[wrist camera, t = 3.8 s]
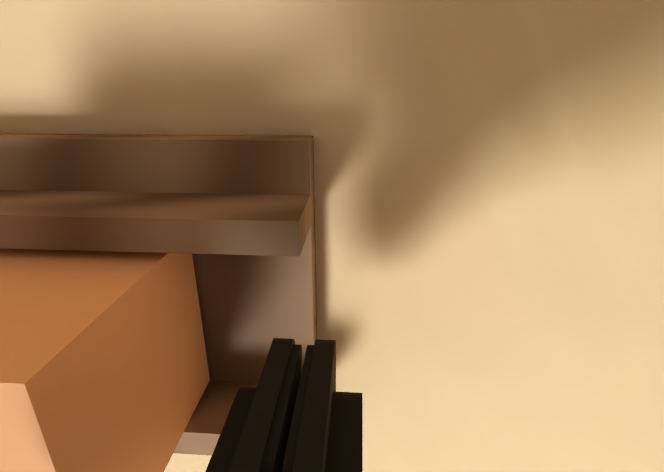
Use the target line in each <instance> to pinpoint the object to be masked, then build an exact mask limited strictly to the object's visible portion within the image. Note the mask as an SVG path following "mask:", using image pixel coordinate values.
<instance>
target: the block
mask: <svg viewBox="0 0 664 472" xmlns="http://www.w3.org/2000/svg"><path fill="white" fill-rule="evenodd" d="M209 381H210V376H209V369H208V362H207V355H206V348H205V341H204V334H203V327H202V320H201V313H200V306H199V299H198V292H197V285H196V278H195V271H194V264H193V257H192V254H190V253H153V252H116V251H80V250H43V249H6V248H0V472H164V470H165V468H166V466H167V464H168V462H169V460H170V458H171V456H172V454H173V452H174V450H175V448H176V446H177V444H178V442H179V440H180V438H181V436H182V434H183V432H184V430H185V428H186V426H187V424H188V422H189V420H190V418H191V416H192V414H193V412H194V410H195V408H196V406H197V404H198V402H199V400H200V398H201V396H202V395H203V393H204V391H205V389H206V387H207V385H208V383H209Z"/></svg>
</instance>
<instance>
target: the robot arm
mask: <svg viewBox="0 0 664 472" xmlns="http://www.w3.org/2000/svg"><path fill="white" fill-rule="evenodd" d="M206 472H362V393H349V392H336V341H335V340H315V344H314V345H307V348H306V353H305V358H304V363H303V359H302V345H300V344H295V340H294V339H287V338H274V339H273V341H272V344H271V347H270V350H269V353H268V356H267V359H266V362H265V365H264V368H263V371H262V374H261V376H260V379H259V382H258V385H257V388H249V387H240V388H239V389H238V391H237V393H236V396H235V398H234V401H233V403H232V406H231V409H230V411H229V414H228V416H227V419H226V421H225V424H224V426H223V429H222V431H221V434H220V436H219V439H218V442H217V444H216V447H215V449H214V452H213V454H212V457H211V459H210V462H209V464H208V467H207V469H206Z"/></svg>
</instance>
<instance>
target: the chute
mask: <svg viewBox="0 0 664 472" xmlns="http://www.w3.org/2000/svg"><path fill="white" fill-rule="evenodd" d="M0 248H6V249H43V250H80V251H116V252H153V253H190V254H192V257H193V264H194V271H195V278H196V285H197V292H198V299H199V306H200V313H201V320H202V327H203V334H204V341H205V348H206V355H207V362H208V369H209V376H210V381H209V383H208V385H207V387H206V389H205V391H204V393H203V395H202V396H201V398H200V400H199V402H198V404H197V406H196V408H195V410H194V412H193V414H192V416H191V418H190V420H189V422H188V424H187V426H186V428H185V430H184V432H183V434H182V436H181V438H180V440H179V442H178V444H177V446H176V448H175V450H174V452H173V453H182V454H198V455H212V454H213V452H214V449H215V447H216V444H217V442H218V439H219V436H220V434H221V431H222V429H223V426H224V424H225V421H226V419H227V416H228V414H229V411H230V409H231V406H232V403H233V401H234V398H235V396H236V393H237V391H238V389H239V388H240V387H249V388H257V385H258V382H259V379H260V376H261V374H262V371H263V368H264V365H265V362H266V359H267V356H268V353H269V350H270V347H271V344H272V341H273V339H274V338H287V339H294V340H295V344H300V345H302V359H303V363H304V358H305V353H306V348H307V345H314V344H315V340H317V318H316V268H315V218H314V169H313V136H227V135H83V134H0Z"/></svg>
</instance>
